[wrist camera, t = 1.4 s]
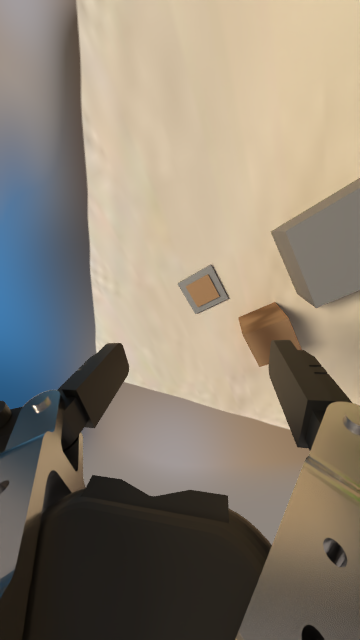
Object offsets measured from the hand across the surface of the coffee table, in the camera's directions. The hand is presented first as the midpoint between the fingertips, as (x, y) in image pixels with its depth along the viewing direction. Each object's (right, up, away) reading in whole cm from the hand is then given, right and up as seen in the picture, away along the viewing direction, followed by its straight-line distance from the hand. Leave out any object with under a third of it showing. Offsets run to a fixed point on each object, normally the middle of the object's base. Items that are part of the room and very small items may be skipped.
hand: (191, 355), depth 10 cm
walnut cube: (+13, +1, +20) cm, 24 cm away
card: (+3, +7, +20) cm, 21 cm away
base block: (+18, +12, +14) cm, 26 cm away
